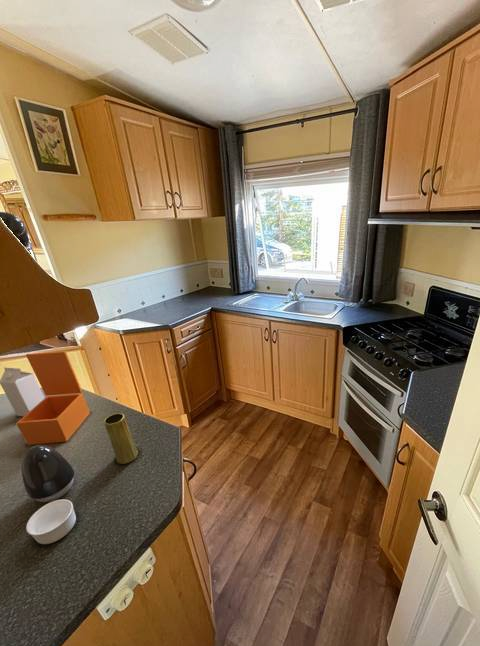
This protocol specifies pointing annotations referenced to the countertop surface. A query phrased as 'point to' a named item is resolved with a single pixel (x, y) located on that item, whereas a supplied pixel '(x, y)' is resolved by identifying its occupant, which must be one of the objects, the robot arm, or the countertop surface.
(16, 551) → the countertop surface
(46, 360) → the lid
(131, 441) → the vase
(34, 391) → the milk carton
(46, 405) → the box
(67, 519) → the ramekin
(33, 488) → the dark rounded cone
